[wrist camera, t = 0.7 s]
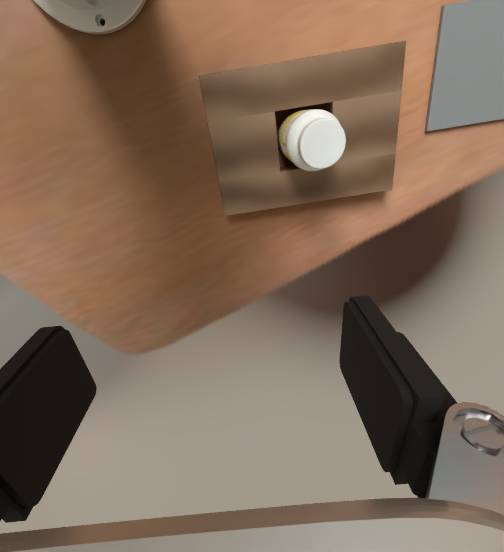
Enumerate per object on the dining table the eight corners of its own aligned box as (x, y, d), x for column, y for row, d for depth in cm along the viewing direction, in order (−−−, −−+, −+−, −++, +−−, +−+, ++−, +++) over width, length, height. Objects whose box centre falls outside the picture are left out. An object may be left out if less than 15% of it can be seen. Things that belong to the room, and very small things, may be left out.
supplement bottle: (271, 121, 32) (284, 122, 24) (317, 102, 31) (347, 96, 23) (285, 169, 35) (301, 185, 26) (328, 151, 34) (359, 163, 26)
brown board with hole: (201, 79, 30) (198, 76, 28) (393, 46, 29) (406, 40, 27) (226, 210, 37) (225, 215, 34) (382, 185, 36) (392, 189, 34)
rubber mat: (441, 6, 28) (444, 4, 28) (555, -14, 28) (559, -15, 27) (424, 131, 33) (426, 131, 33) (520, 115, 33) (523, 115, 33)
